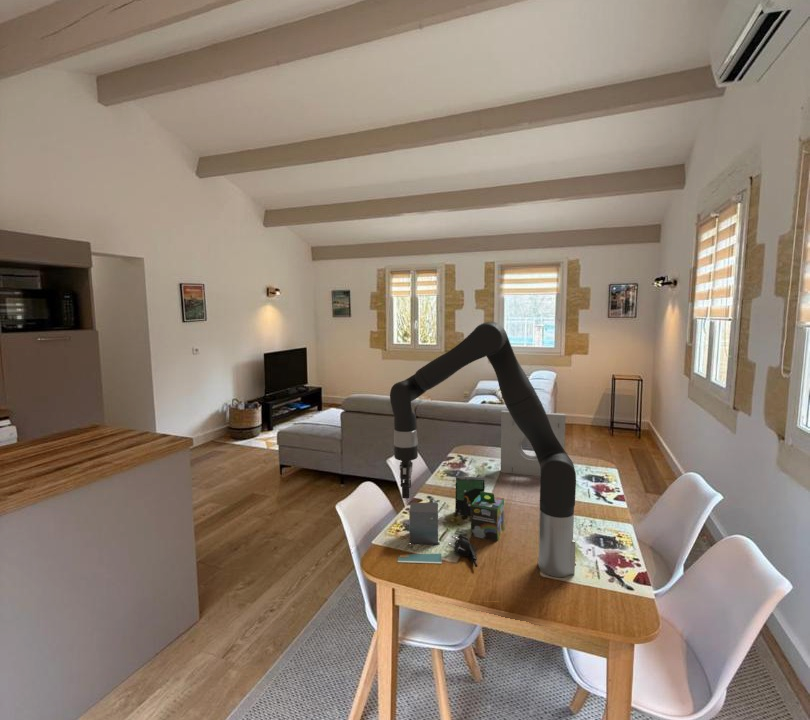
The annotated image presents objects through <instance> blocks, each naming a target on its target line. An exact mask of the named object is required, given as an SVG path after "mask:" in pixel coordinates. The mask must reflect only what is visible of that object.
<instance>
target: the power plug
mask: <svg viewBox="0 0 810 720" xmlns="http://www.w3.org/2000/svg"><path fill="white" fill-rule="evenodd" d="M451 538H452V539H453V540H455V541H454V543H450V542H447V545H448V546H449V547H451V548H453V553H454V554H455V555H458V556H460V557H465V556H466V557H467V558H468V559H469V560H470V562H471V563H473V564H474V566H475V568H478V564H477V561H478V559H477V553H476V551H477V550H476V549H475V548H476V547H475V546H474V544H471V542H470V539H469V537H468V536H465V535H463V534H459V535H458V536H455V535H452V536H451Z"/></svg>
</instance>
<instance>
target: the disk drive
mask: <svg viewBox="0 0 810 720" xmlns="http://www.w3.org/2000/svg"><path fill="white" fill-rule="evenodd" d="M485 481H486V480H485V477H475V476H464V475H456V477H455V498H454V499H455V500H454V501H455V508H454V509H455V510H454V515H456V516H461V517H462V516H465V517H471V504H472V503H473V502H474V500H475V499H476V498H477V496H478V495H480V492H485V489H486V488H485Z"/></svg>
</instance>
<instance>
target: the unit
mask: <svg viewBox="0 0 810 720" xmlns="http://www.w3.org/2000/svg"><path fill="white" fill-rule="evenodd" d="M408 515H409V518H408V522H409V523H408V527H409V528H408V529H409V543H411V544H410V545H412V544H414V545H415V544H419V545H420V546H440V545H441V542H440V541H439V503H438V502H410V505H409V513H408ZM414 545H413V546H414ZM415 546H416V545H415Z"/></svg>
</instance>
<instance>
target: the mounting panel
mask: <svg viewBox="0 0 810 720" xmlns="http://www.w3.org/2000/svg"><path fill="white" fill-rule="evenodd" d="M546 414H547V417H548V419H549V422H550V425H551V428H552V430H553V432H554V434H555V436H556V438H557V439H558V441H559V443H560V444H561V446H562V447H563V449H564V450H565V451H566V449H565V443H566V413H557V412H556V413H553V412H546ZM500 417H501V419H500V421H501V422H500V425H501V426H500V428H501V429H500V473H506V474H513V475H514V474H515V475H516V474H517V475H525V476H533V477H540V473H541V472H540V464H539V461H538V459H537V456H536V454H534V455H531V454H528V453H526V452H525V451H524V449H523V447H522V443H523V440H525V439H526V438H527V437H526V436H525V435H524V434H523V432H522V431H521V430H520V429H519V427H518V426H517V424H516V423H515V421H514V420H513V418H512V416H511V415H510V413H509V411H508V410H501V414H500Z"/></svg>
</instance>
